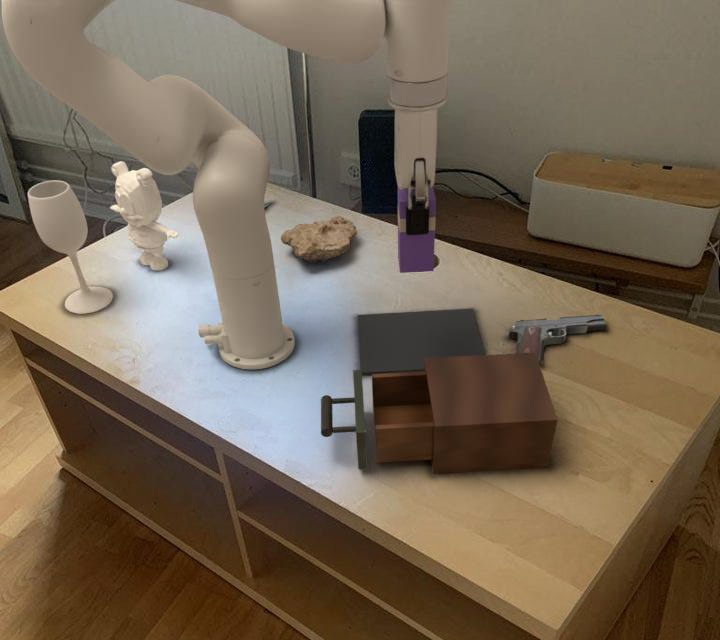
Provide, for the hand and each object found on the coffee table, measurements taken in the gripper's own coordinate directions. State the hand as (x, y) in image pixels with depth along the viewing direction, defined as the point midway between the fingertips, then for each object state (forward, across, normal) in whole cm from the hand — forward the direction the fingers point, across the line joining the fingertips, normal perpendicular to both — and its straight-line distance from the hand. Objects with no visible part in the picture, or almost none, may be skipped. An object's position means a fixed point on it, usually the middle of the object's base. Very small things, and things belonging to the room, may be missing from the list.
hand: (415, 223), depth 104 cm
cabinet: (+21, +23, +8) cm, 32 cm away
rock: (+21, -31, -15) cm, 41 cm away
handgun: (+21, 0, +22) cm, 31 cm away
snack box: (+7, 0, 0) cm, 7 cm away
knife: (+21, -46, -31) cm, 60 cm away
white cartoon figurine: (+21, -30, -48) cm, 61 cm away
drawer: (+20, +23, -5) cm, 31 cm away
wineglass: (+21, -18, -58) cm, 64 cm away
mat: (+21, 0, +1) cm, 21 cm away
